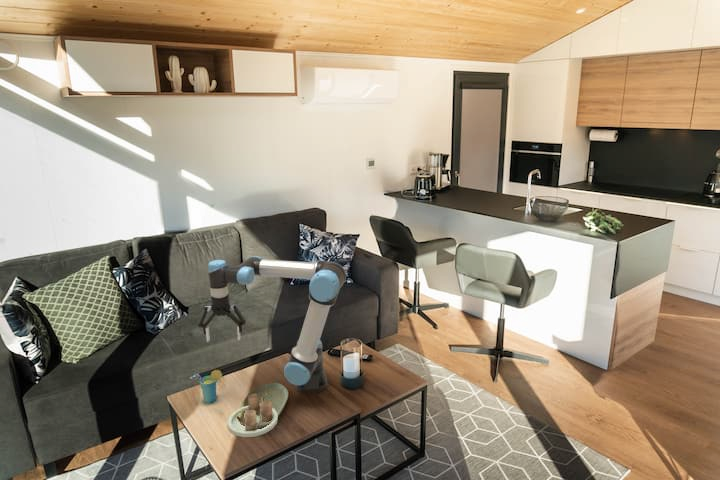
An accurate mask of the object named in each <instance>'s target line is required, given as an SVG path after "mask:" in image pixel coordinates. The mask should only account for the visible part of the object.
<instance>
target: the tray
mask: <svg viewBox="0 0 720 480" xmlns="http://www.w3.org/2000/svg"><path fill="white" fill-rule="evenodd" d="M260 409H261V406H260ZM247 410H249V407H248V405H245V406H242V407H239V408H238V409H237V410H235V411H233V412H232V413H231V415H230V416H229V417H228V420H227V428H228V430H229V432H230V433H232V434H233V435H234V436H236V437H240V438H253V437H254V438H255V437H258V436H263V435H264V434H267V433H268V432H270V431H271V430H273V429H274V428H275V427H276V426H277V424H278V419H279V416H278V415H279V414H278V412H277V411H276V408H274V407H272V414H273V415H274V419H273V420H272V422H271V423H270V424H269V425H267V426H266V427H264V428H262V429H257V430H255V431H246V430H245V426H243V425H241V424H240V422H239V421H238V419H237V415H238V414H239V413H241V412H242V411H247ZM256 420H257V423H259V422H260V416H258V415H256Z"/></svg>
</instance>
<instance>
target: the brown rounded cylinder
mask: <svg viewBox="0 0 720 480" xmlns="http://www.w3.org/2000/svg"><path fill="white" fill-rule="evenodd" d="M259 404H260V406H261V419H262V422H269V421H271V420H272V419H273V415H272V408H273V404H272V401H270V400H263V401H261V402H260V403H259Z"/></svg>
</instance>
